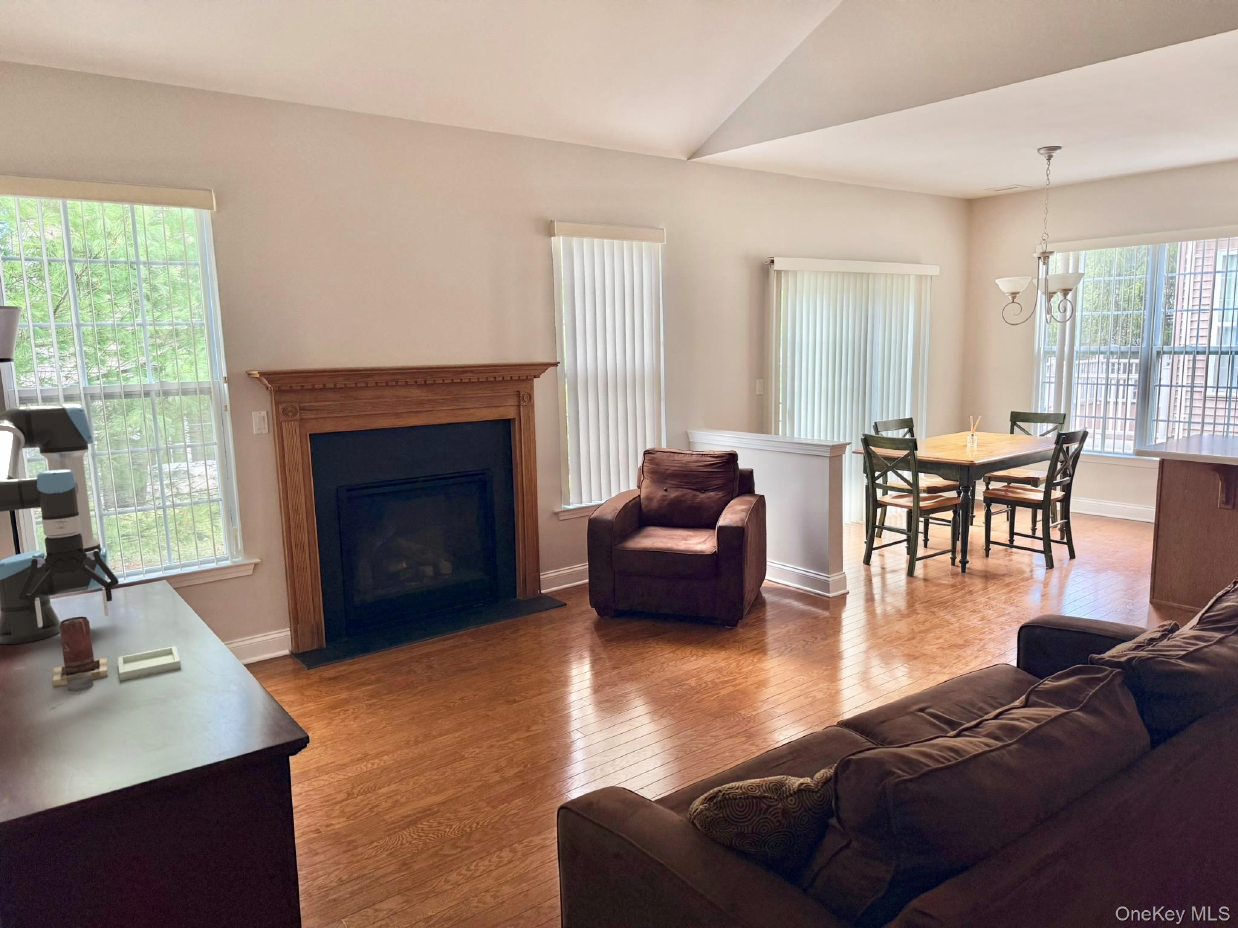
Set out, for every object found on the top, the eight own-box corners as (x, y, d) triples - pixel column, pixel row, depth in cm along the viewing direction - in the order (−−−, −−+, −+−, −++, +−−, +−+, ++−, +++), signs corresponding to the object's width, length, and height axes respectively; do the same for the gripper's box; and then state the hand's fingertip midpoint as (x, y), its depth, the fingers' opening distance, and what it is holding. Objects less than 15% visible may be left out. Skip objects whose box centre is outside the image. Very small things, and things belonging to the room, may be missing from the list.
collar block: (55, 672, 208) (53, 660, 208) (107, 662, 214) (105, 650, 213) (52, 696, 193) (50, 682, 193) (108, 684, 199) (106, 671, 198)
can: (82, 679, 203) (74, 624, 201) (60, 678, 204) (52, 623, 202) (102, 670, 208) (95, 615, 207) (80, 669, 210) (73, 615, 208)
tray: (118, 664, 212) (117, 657, 212) (176, 653, 219) (175, 645, 218) (120, 680, 201) (119, 672, 201) (180, 668, 208) (179, 660, 207)
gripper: (-3, 545, 192) (10, 634, 194) (123, 529, 205) (133, 613, 207) (0, 539, 198) (12, 626, 201) (122, 524, 211) (132, 606, 214)
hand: (74, 620), depth 204 cm, fingers open, 13 cm apart
